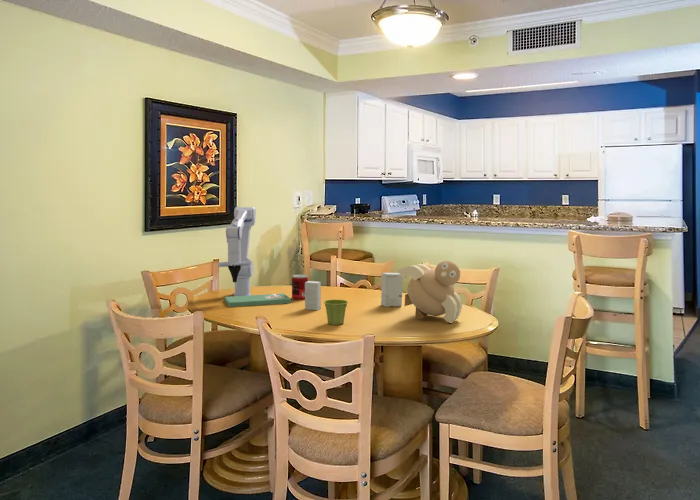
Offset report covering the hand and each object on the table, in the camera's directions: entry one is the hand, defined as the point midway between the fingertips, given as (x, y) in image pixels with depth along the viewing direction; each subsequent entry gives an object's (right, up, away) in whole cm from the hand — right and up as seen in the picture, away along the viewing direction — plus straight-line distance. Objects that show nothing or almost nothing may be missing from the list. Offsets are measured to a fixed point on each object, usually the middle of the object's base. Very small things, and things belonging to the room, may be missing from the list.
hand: (234, 282), depth 254 cm
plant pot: (+47, -14, -38) cm, 62 cm away
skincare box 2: (+72, -11, -3) cm, 73 cm away
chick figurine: (+86, -14, -27) cm, 92 cm away
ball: (+17, -7, +4) cm, 19 cm away
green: (+10, -9, +2) cm, 14 cm away
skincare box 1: (+37, -11, -12) cm, 40 cm away
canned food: (+29, -9, +12) cm, 32 cm away
